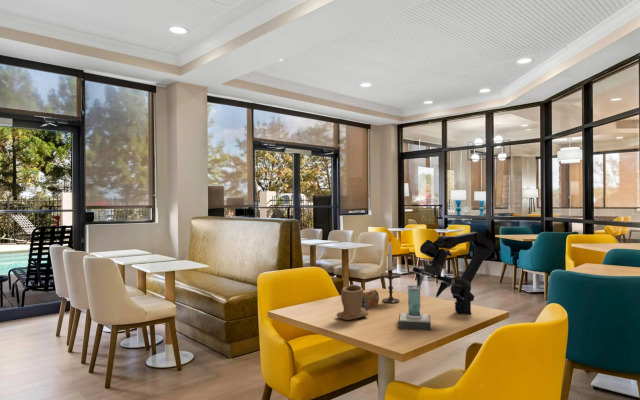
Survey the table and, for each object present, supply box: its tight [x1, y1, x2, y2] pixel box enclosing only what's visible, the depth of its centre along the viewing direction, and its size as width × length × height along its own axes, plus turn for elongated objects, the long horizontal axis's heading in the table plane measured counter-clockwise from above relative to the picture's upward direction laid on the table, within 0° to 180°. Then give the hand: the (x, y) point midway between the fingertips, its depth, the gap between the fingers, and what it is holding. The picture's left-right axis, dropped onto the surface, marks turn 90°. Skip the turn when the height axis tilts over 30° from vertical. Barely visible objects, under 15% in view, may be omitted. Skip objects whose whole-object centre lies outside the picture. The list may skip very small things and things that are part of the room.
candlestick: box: [379, 236, 402, 305], centre depth 224 cm, size 11×11×35 cm
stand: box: [398, 312, 432, 331], centre depth 179 cm, size 13×13×4 cm
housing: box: [406, 284, 423, 319], centre depth 179 cm, size 7×7×13 cm
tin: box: [361, 289, 380, 311], centre depth 211 cm, size 15×3×8 cm, turn 143°
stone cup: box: [336, 284, 369, 321], centre depth 192 cm, size 15×12×15 cm
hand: (427, 293), depth 190 cm, fingers open, 9 cm apart
